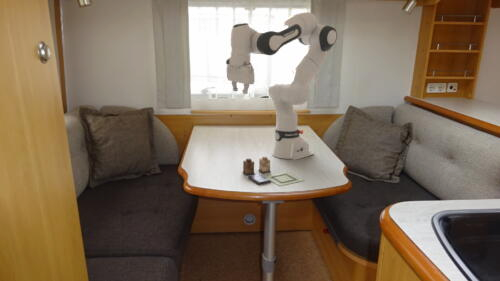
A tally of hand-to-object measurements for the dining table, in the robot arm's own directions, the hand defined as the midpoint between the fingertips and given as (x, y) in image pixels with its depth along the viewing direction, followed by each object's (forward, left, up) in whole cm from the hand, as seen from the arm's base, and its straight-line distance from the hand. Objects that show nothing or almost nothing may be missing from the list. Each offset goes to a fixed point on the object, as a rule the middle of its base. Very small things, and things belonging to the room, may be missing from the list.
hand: (240, 92), depth 167 cm
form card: (-10, +23, -36) cm, 44 cm away
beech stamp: (-7, +11, -36) cm, 38 cm away
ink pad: (+1, +19, -36) cm, 41 cm away
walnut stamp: (+1, +10, -36) cm, 37 cm away
